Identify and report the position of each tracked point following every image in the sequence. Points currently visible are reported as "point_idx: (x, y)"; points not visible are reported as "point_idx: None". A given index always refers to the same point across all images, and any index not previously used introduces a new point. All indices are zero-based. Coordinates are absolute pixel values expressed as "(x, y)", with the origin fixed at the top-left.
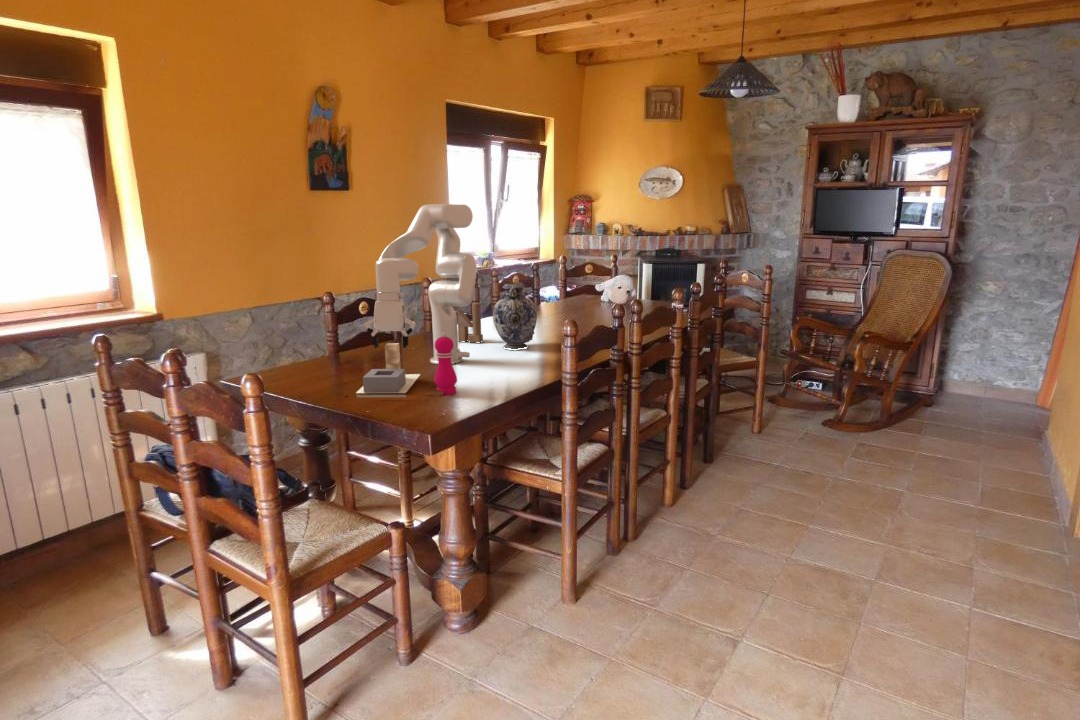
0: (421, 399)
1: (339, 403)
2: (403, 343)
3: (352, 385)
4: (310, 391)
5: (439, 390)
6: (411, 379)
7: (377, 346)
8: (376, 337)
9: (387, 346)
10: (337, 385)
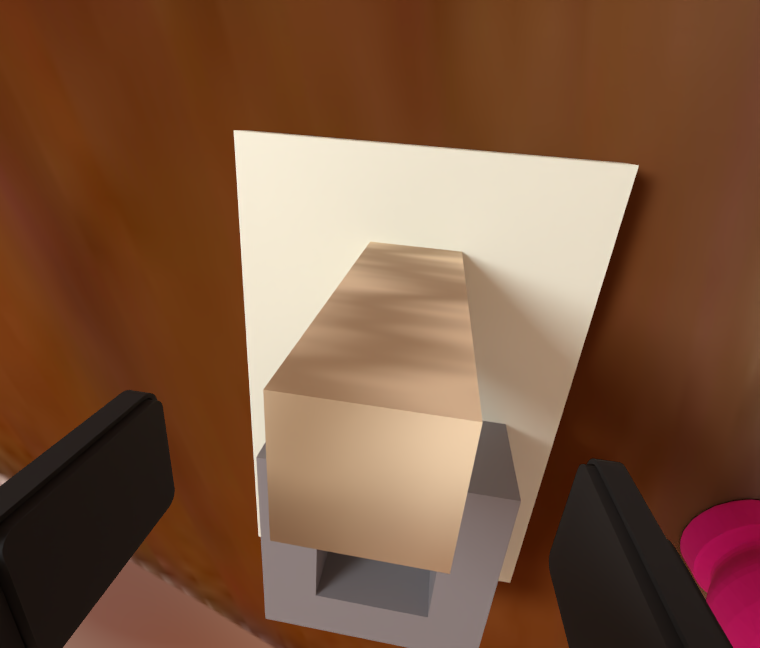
0: None
1: (228, 569)
2: (576, 637)
3: (161, 303)
4: (6, 385)
5: (705, 589)
6: (546, 334)
7: (164, 472)
8: (55, 637)
9: (315, 535)
10: (74, 290)
